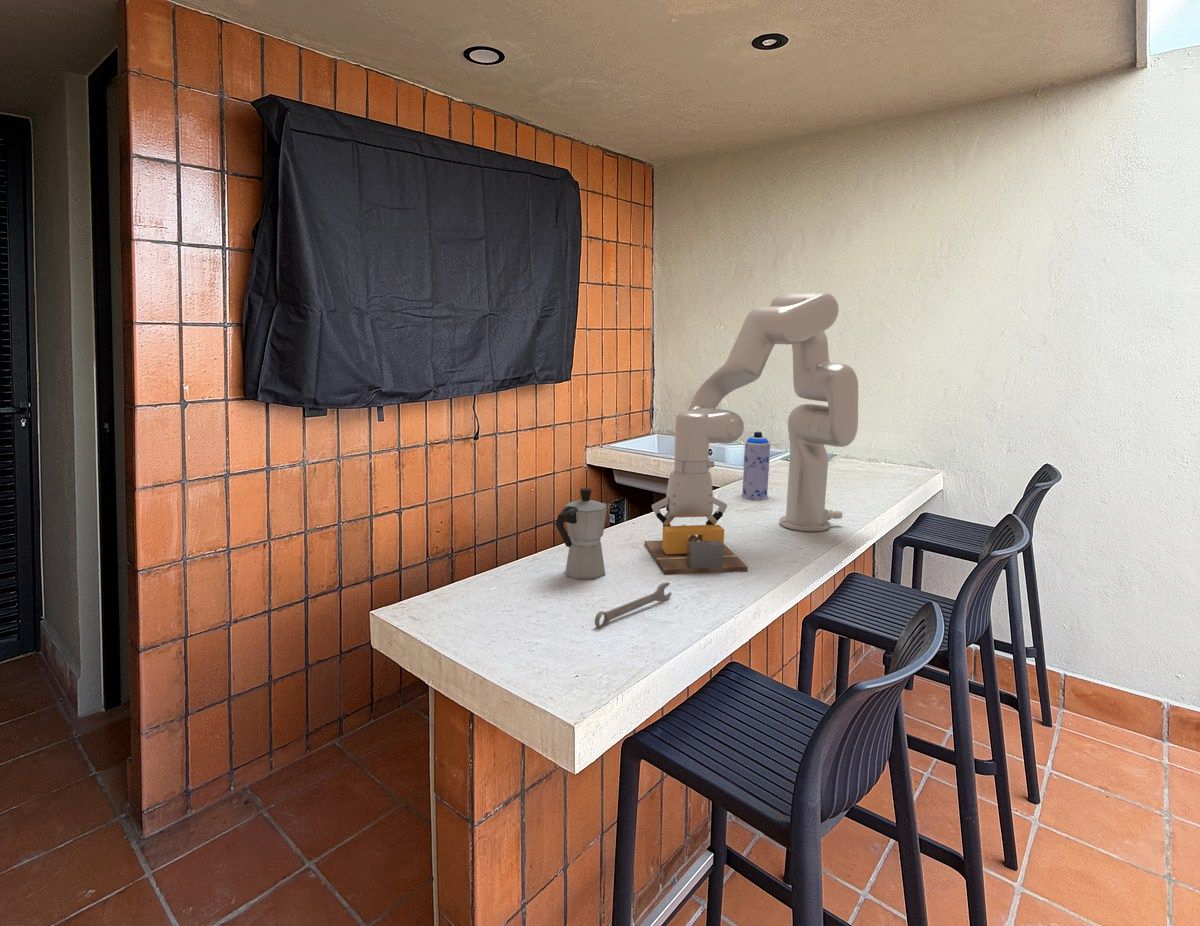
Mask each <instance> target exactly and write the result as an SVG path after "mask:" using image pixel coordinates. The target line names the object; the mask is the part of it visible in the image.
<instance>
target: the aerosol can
mask: <svg viewBox="0 0 1200 926" xmlns="http://www.w3.org/2000/svg"><path fill="white" fill-rule="evenodd" d="M770 455H771V443H770V441H769V440H768V439H767V438H766V437H764V436H763V432H762V431H755V432H754V435H752V436H750V437H749V438H748V439H747V440H746V441H745V443H744V457H743V473H742V474H743V475H742V494H741V498H742V499H744V498H745V500H748V499H749V500H748V501H765V500H768V498H769V496H768V491H769V490H768V489H769V471H770Z"/></svg>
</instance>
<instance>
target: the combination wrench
mask: <svg viewBox="0 0 1200 926" xmlns="http://www.w3.org/2000/svg"><path fill="white" fill-rule="evenodd" d="M670 584H671V583H670V582H661V583H660V584H659V585H658V586H657V588H656V590H655V591H654V592H652V593H650V594H647V595H645V596H643V597H640V598H638V599H635V600H633V601H630V602H627V603H625V604H622V605H620V606H617V607H615V608H612V609H610V610H607V611H603V610H601V611H598V612H597V614H596V616H595V617H594V626H595V627H597V628H599V629H602V628H604V627H607V625H608V623H609V622H610V621H612V620H614V619H616V618H618V617H620V616H623V615H625V614H629V613H630V612H632V611H634V610H636V609H639V608H641V607H644V606H646V605H648V604H651V603H653V602H655V601H656V602H659V603H664V602H667V601H668V600H669V599H670V598H671V596H672V593H673V592H671V591H670V592H668V593H665V589H666V588H668V587H669V586H670ZM602 617H603V621H602V623H601V624H600V620H601V618H602Z"/></svg>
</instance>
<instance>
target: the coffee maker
mask: <svg viewBox="0 0 1200 926" xmlns="http://www.w3.org/2000/svg"><path fill="white" fill-rule="evenodd" d="M579 490H580V491H579V492H580V498H581V499H579V500H574V501H570V502H568V503H567V504H565V505H564V507H563V508H562V510H561V512H560V513H559V514H558V515H557V519H556V521H555V527H556V528H557V531H558V532H559V534H560V535H559V536H560V537H561V539H562V541H563V543H564V545H565V547H568V553H567V559H566V565H565V575H566V577H568V578H571V579H574V580H577V581H595V580H598V579H600V578H603V577H605V576H606V569H605V562H604V555H603V550H602V549H603V548H602V542H601V538H602V537H603V536H604V532H605V523H606V517H607V510H608V505H607V503H606V502H600V501H596V500H593V499H591V494H592V488H589V487H588V488H587V487H583V488H580V489H579ZM565 523H566V528H565ZM566 529H567V530H566Z"/></svg>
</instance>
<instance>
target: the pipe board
mask: <svg viewBox="0 0 1200 926" xmlns="http://www.w3.org/2000/svg"><path fill="white" fill-rule="evenodd" d="M688 542H689V541H688ZM644 546H645V548H646V549H647V551H648V552H649V554H650V556H651V557H652V558H653V560H654V562H655V563H656V565H658V568H659V569H660V570H661V572H662V573H663V575H684V574H685V575H687V574H708V573H709V574H710V573H711V574H713V573H733V572H734V571H740V572H748V568H749V567H748V566H747V565H746V564H745V562H743V561H742V559H740V558H739V556H737V555H736V554H735V553H734V552H733V551H732V550H731V549H730V548H729V547H728V546H727V545H726V544H725V543H724V548H723V568H700V569H690V568H689V567H688V566H687V564H686V560H687V553H685V554H666V553H665V552H664V550H663V549H662V540H644Z"/></svg>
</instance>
